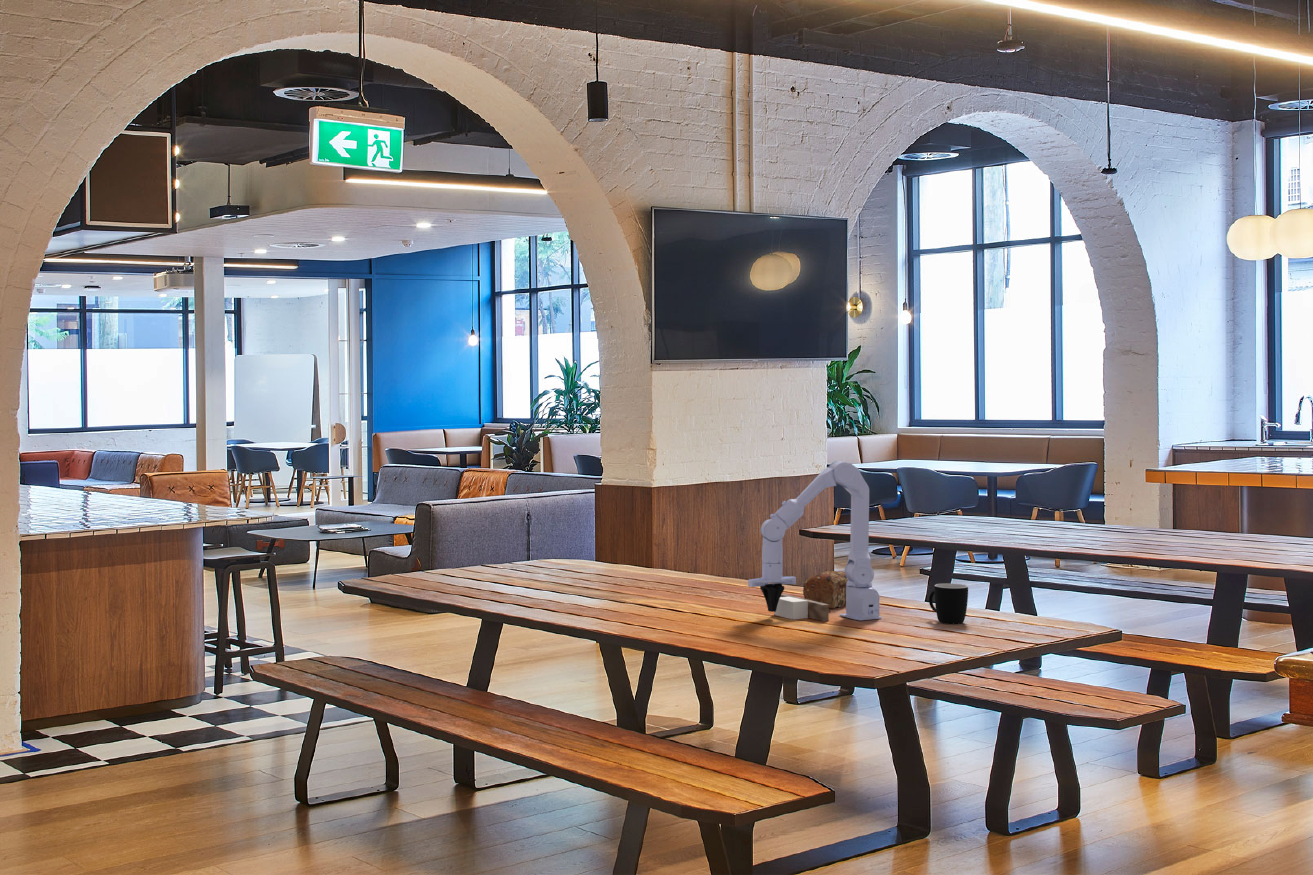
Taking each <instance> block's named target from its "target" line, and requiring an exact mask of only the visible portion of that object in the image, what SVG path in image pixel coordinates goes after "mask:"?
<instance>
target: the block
mask: <svg viewBox="0 0 1313 875" xmlns="http://www.w3.org/2000/svg"><path fill="white" fill-rule="evenodd" d="M773 613H774V616H778V617H780V618H781V617H782V618H786V619H788V620H789V619H790V620H801V619H803V620H804V619H808V601H807V600H802V599H798V598H793V597H780V599H779V602H778V605H777V609H776V612H773Z"/></svg>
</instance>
